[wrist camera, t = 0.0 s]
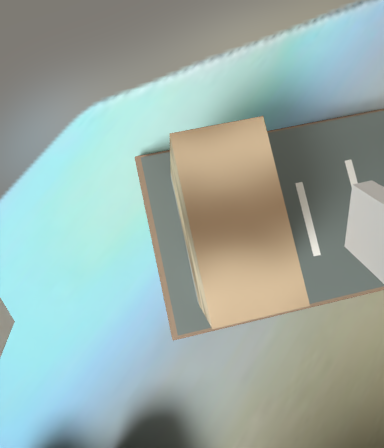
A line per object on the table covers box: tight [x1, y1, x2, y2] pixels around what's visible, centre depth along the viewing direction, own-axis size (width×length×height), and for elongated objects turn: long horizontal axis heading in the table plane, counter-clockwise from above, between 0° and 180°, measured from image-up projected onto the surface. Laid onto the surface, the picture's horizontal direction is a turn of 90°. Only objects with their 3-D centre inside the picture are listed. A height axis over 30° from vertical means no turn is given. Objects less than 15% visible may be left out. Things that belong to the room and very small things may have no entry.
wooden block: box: [170, 116, 310, 329], centre depth 21 cm, size 10×5×9 cm, turn 12°
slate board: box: [135, 109, 384, 340], centre depth 27 cm, size 15×22×2 cm
